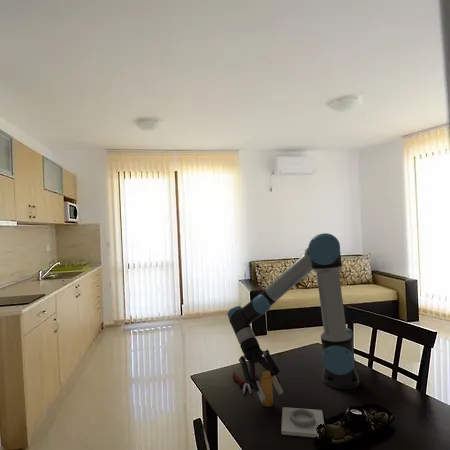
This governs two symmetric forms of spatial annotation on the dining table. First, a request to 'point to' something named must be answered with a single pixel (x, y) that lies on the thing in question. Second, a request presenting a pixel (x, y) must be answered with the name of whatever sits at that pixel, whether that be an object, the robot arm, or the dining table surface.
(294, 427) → the plate
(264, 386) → the orange peg
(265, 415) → the dining table surface
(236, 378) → the pliers
